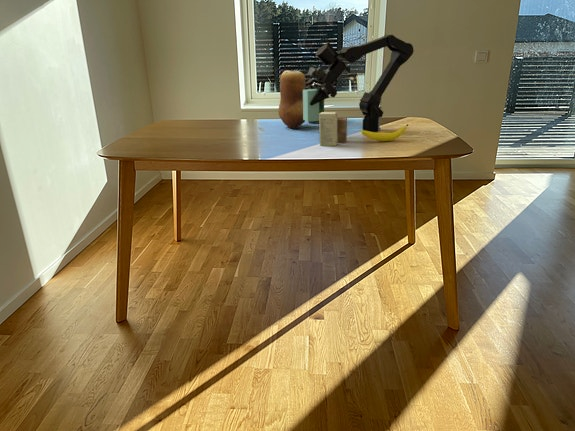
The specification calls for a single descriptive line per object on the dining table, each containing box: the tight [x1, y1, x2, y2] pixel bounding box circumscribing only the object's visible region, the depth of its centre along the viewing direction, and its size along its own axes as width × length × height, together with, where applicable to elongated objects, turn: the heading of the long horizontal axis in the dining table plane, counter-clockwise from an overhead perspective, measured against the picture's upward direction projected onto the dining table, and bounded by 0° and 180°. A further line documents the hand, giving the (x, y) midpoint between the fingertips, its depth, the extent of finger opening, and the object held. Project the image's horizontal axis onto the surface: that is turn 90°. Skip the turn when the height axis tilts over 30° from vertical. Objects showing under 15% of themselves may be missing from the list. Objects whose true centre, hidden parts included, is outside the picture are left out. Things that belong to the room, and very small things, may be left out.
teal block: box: [303, 88, 319, 123], centre depth 170 cm, size 5×5×12 cm
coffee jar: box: [307, 84, 325, 124], centre depth 201 cm, size 10×8×19 cm
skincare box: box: [318, 111, 338, 147], centre depth 160 cm, size 6×4×12 cm
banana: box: [359, 124, 409, 142], centre depth 163 cm, size 3×19×6 cm, turn 96°
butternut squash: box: [278, 69, 306, 130], centre depth 190 cm, size 14×13×25 cm
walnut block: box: [337, 117, 348, 144], centre depth 164 cm, size 4×4×9 cm
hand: (307, 104), depth 170 cm, fingers closed on teal block, 5 cm apart
